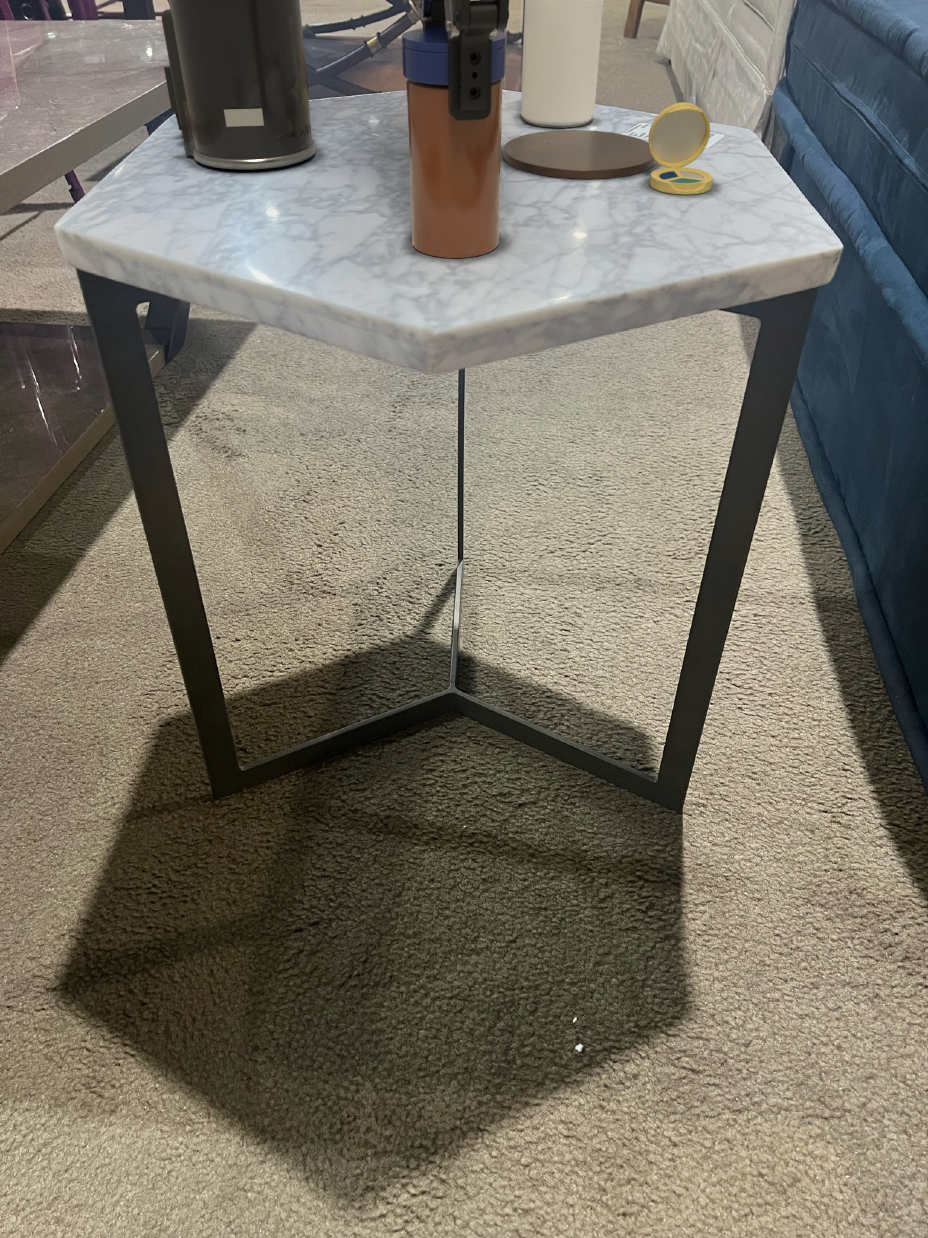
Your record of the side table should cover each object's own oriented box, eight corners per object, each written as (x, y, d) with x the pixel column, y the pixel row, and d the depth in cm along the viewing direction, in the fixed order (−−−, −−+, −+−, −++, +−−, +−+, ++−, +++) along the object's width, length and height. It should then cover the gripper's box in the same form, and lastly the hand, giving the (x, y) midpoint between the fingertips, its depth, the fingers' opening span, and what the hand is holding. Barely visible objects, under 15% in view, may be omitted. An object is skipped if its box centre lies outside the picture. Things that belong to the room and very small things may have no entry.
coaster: (475, 163, 71) (475, 155, 71) (546, 130, 79) (546, 122, 79) (618, 187, 66) (619, 178, 66) (679, 149, 74) (680, 141, 74)
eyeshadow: (657, 194, 65) (667, 116, 62) (641, 174, 69) (650, 100, 66) (718, 193, 65) (732, 115, 62) (699, 173, 69) (711, 99, 66)
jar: (395, 247, 57) (385, 47, 50) (441, 223, 60) (438, 33, 54) (470, 264, 55) (471, 57, 48) (514, 237, 58) (520, 42, 51)
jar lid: (381, 77, 51) (379, 37, 50) (437, 60, 55) (436, 22, 53) (472, 89, 49) (472, 47, 47) (523, 71, 52) (525, 31, 51)
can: (508, 123, 81) (513, -45, 73) (538, 108, 85) (546, -52, 78) (576, 131, 79) (589, -41, 71) (604, 115, 83) (619, -49, 75)
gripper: (347, -299, 46) (370, 83, 57) (402, -338, 36) (417, 141, 47) (491, -296, 48) (486, 77, 59) (586, -332, 37) (558, 132, 48)
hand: (456, 104), depth 53 cm, fingers closed on jar lid, 5 cm apart
